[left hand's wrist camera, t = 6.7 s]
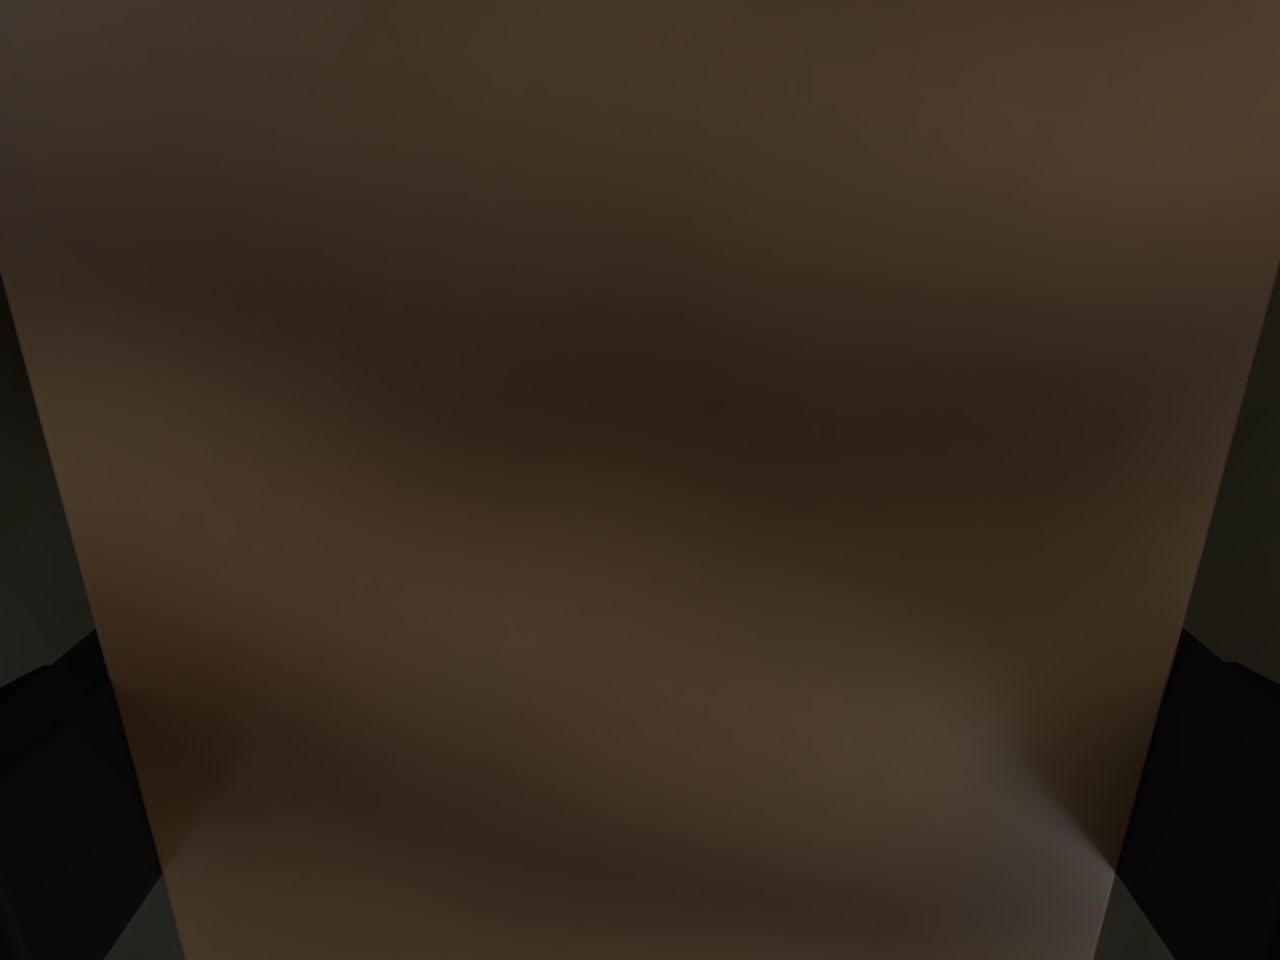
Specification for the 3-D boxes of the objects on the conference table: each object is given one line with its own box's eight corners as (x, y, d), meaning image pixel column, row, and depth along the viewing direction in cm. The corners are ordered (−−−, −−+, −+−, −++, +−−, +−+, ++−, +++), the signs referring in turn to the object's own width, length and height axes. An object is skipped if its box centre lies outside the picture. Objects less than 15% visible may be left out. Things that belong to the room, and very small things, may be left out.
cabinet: (275, -346, 12) (-457, -1407, 4) (1001, -345, 12) (1733, -1402, 4) (396, 652, 19) (201, 1033, 10) (881, 651, 19) (1077, 1033, 10)
